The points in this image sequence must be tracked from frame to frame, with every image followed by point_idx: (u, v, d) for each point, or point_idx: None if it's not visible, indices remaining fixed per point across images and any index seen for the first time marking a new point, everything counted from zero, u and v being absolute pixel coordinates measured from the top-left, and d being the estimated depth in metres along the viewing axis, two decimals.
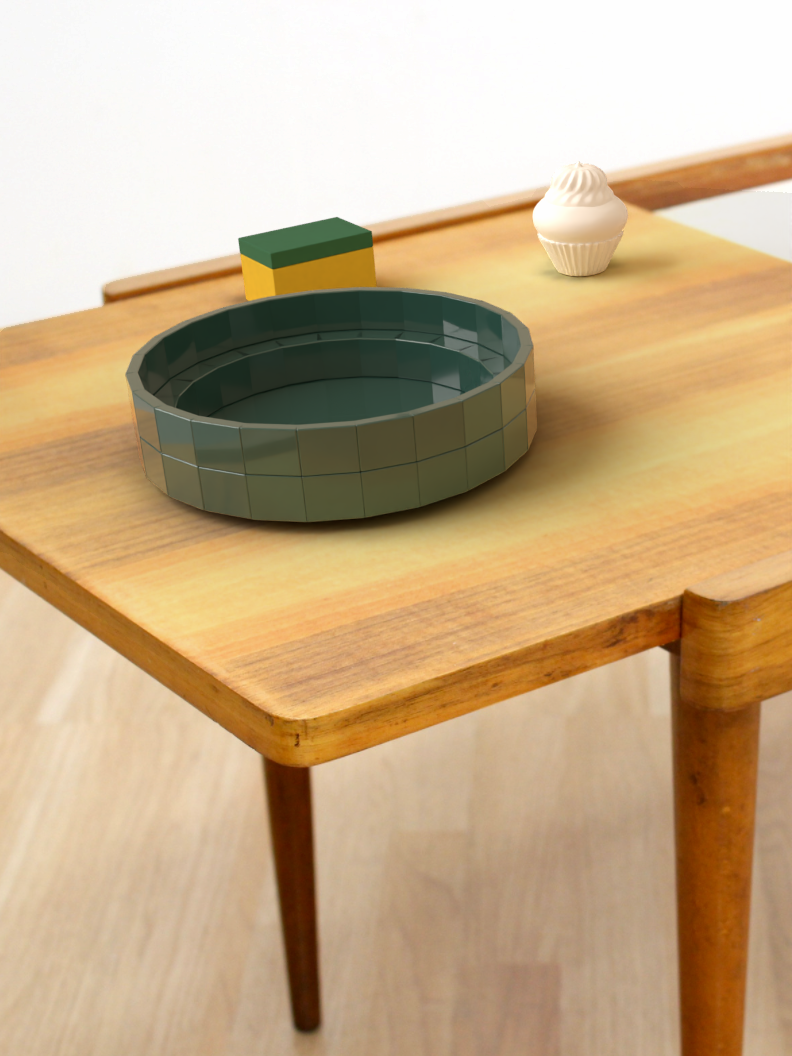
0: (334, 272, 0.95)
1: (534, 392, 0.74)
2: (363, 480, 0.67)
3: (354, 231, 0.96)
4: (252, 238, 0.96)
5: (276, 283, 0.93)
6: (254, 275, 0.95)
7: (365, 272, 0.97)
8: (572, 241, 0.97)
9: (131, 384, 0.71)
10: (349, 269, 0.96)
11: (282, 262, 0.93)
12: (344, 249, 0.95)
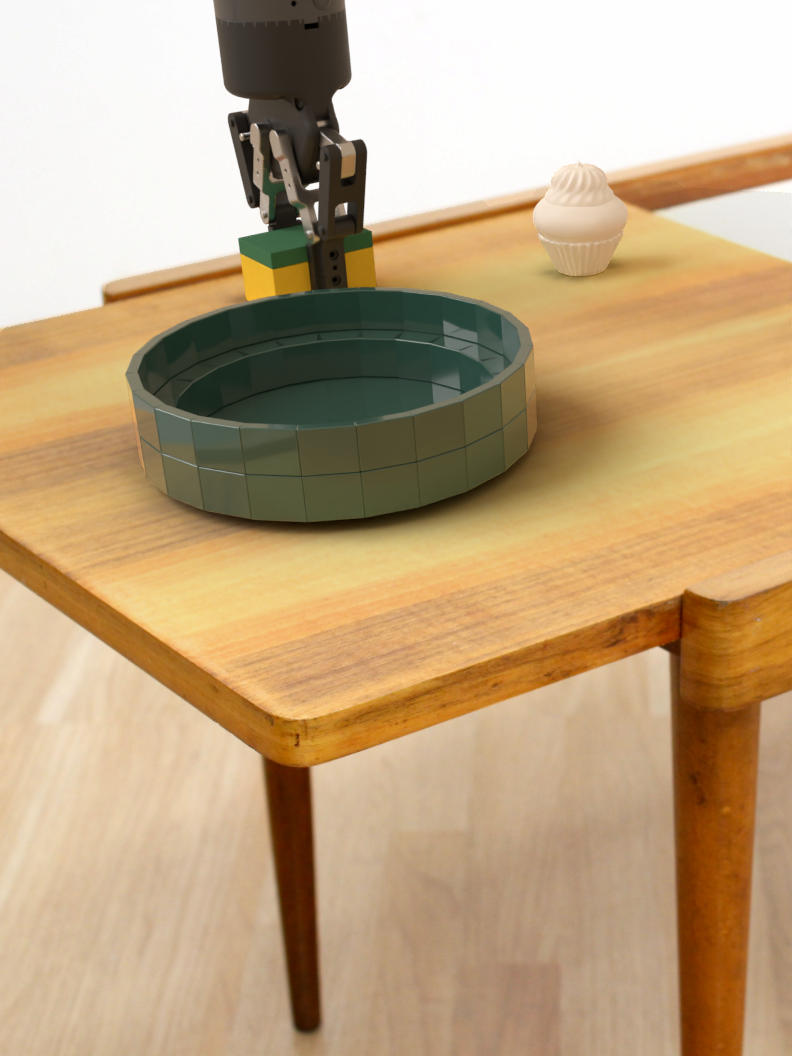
0: None
1: (534, 392, 0.74)
2: (363, 480, 0.67)
3: None
4: (252, 238, 0.96)
5: (276, 283, 0.93)
6: (254, 275, 0.95)
7: (365, 272, 0.97)
8: (572, 241, 0.97)
9: (131, 384, 0.71)
10: (349, 269, 0.96)
11: (282, 262, 0.93)
12: (344, 249, 0.95)
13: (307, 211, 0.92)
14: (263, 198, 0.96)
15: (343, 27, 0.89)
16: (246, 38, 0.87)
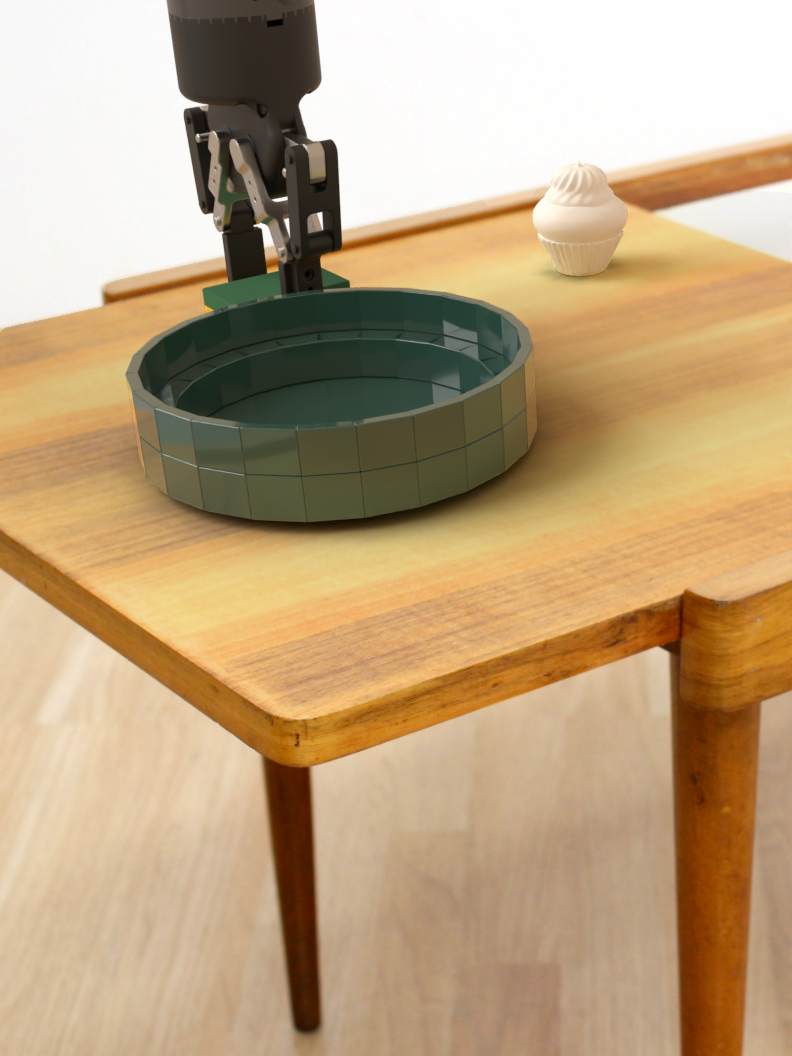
0: None
1: (534, 392, 0.74)
2: (363, 480, 0.67)
3: (329, 280, 0.87)
4: (218, 288, 0.87)
5: None
6: None
7: None
8: (572, 241, 0.97)
9: (131, 384, 0.71)
10: None
11: None
12: None
13: (277, 225, 0.82)
14: (218, 205, 0.87)
15: (311, 24, 0.80)
16: (202, 36, 0.78)
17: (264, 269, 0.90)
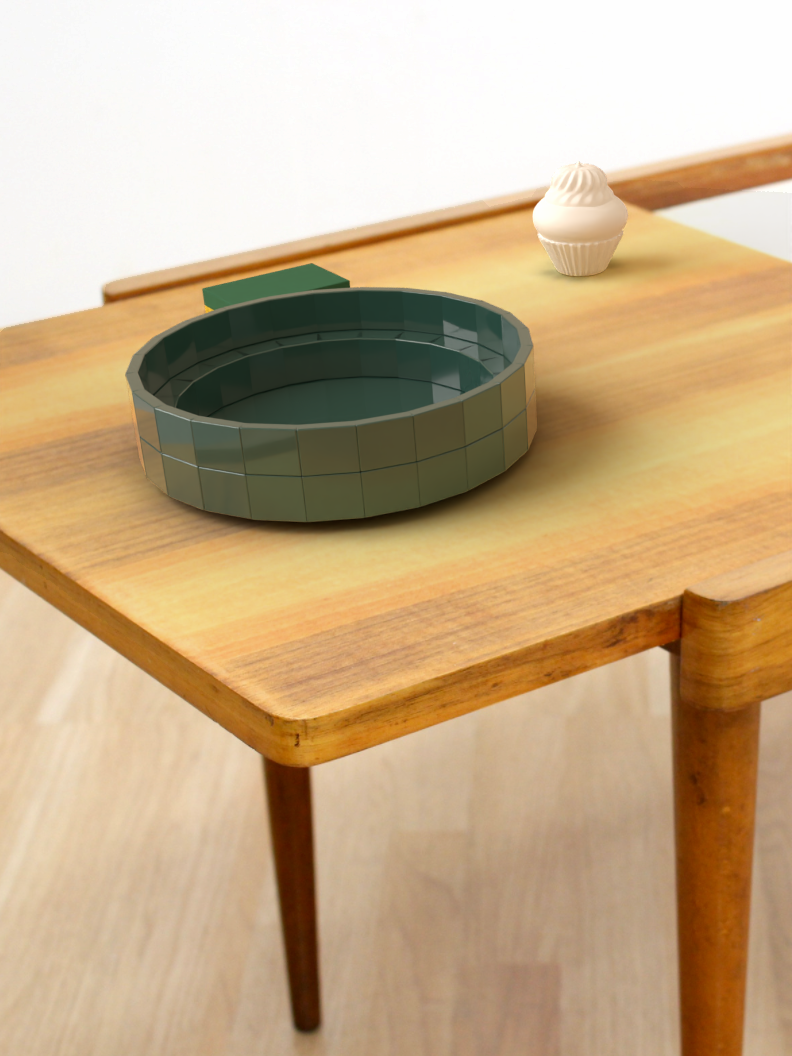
0: None
1: (534, 392, 0.74)
2: (363, 480, 0.67)
3: (329, 280, 0.87)
4: (218, 288, 0.87)
5: None
6: None
7: None
8: (572, 241, 0.97)
9: (131, 384, 0.71)
10: None
11: None
12: None
13: None
14: None
15: None
16: None
17: None
